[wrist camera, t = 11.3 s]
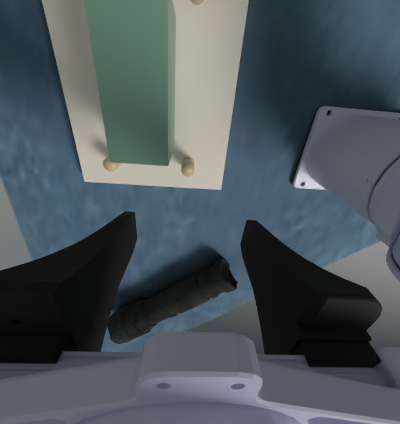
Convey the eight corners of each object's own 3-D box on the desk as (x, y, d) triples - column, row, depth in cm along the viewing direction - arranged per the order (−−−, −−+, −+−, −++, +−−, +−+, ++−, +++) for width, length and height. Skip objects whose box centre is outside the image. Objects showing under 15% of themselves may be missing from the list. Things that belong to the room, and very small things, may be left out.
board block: (176, 17, 14) (167, -21, 9) (174, 147, 19) (168, 166, 14) (118, 11, 14) (79, -32, 9) (131, 144, 18) (109, 162, 14)
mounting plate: (252, -48, 13) (267, -85, 11) (219, 185, 22) (223, 198, 19) (33, -80, 12) (-12, -129, 10) (89, 177, 21) (74, 189, 18)
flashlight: (112, 305, 33) (100, 337, 29) (217, 248, 27) (222, 278, 23) (134, 318, 35) (126, 350, 31) (235, 269, 29) (242, 299, 25)
